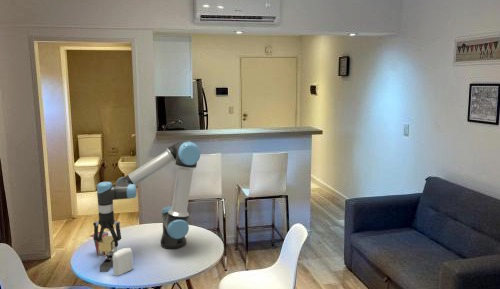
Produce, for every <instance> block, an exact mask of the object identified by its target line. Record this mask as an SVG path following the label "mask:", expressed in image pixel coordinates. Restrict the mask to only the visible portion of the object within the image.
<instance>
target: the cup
mask: <svg viewBox="0 0 500 289" xmlns="http://www.w3.org/2000/svg"><path fill="white" fill-rule="evenodd" d="M99 233H100V231H98V237H99ZM104 236H109V232H107V231H104V232H103V235H102V238H103V237H104ZM89 237H91V238H92V239H93V242H94V247H95V252H96V256H97V257H105V252H102V253H100V251H99V247H98V241H96V240H94V233H92V234H91V235H89ZM102 238H101V239H102Z"/></svg>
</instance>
